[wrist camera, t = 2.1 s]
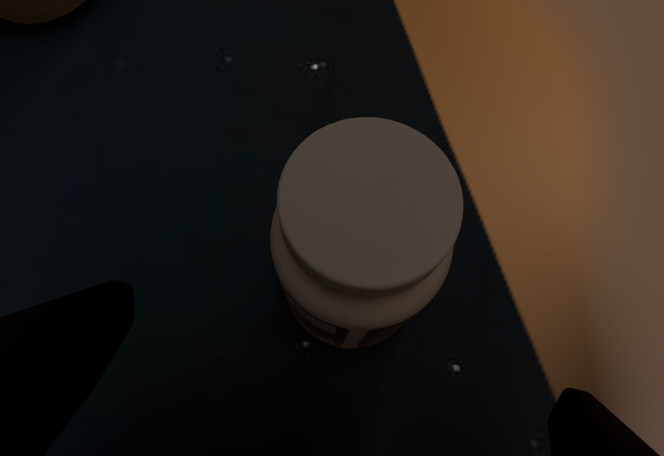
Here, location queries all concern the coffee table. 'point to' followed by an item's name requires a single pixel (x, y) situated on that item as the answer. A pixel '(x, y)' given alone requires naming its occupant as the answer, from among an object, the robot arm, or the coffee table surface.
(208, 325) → the coffee table surface
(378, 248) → the pill bottle
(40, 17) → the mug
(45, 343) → the robot arm
